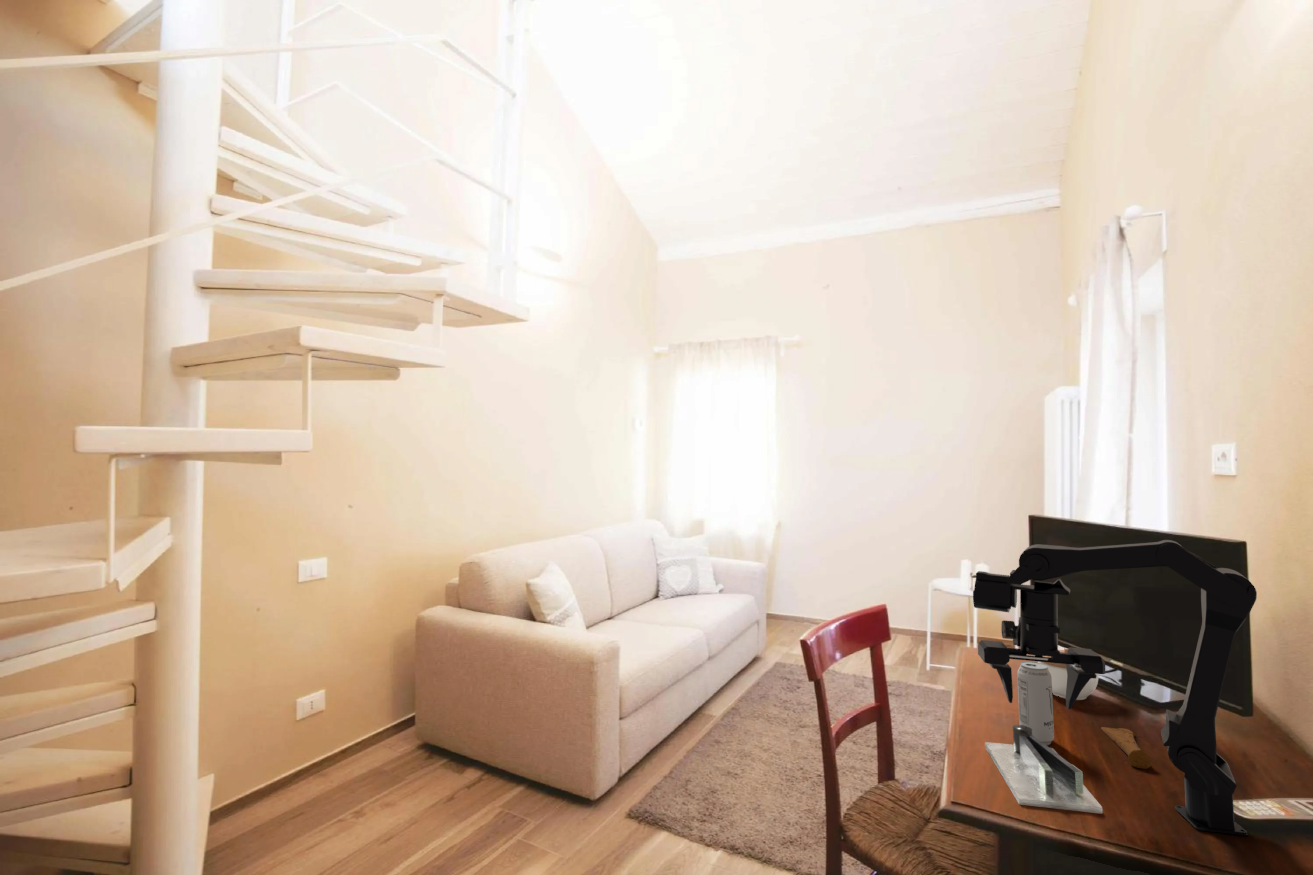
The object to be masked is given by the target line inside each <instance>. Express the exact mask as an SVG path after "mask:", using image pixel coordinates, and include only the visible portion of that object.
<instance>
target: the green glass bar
mask: <svg viewBox="0 0 1313 875" xmlns="http://www.w3.org/2000/svg"><path fill="white" fill-rule="evenodd" d="M1028 740H1029V741H1030V743H1031V744H1032V745H1033V747H1034V748H1035V749H1036V751H1037V752H1038V753H1039V754H1040V756H1041V757H1042V758H1043V760H1044V761H1045V762H1046V763H1047V764H1048V766H1049V767H1050V768H1051V769H1052V771H1053V775H1054V776H1055V777H1057V778H1058V779H1059V780H1060V781H1061V782H1063V783H1064V784H1065V785H1066V786H1068V787H1069V788H1070V789H1071V790H1072V791H1074V792H1075V793H1076V794H1084V793H1083V785H1084V774H1083V771H1082V770H1081V769H1079V768H1078V767H1077V766H1075V764H1073V763H1070V762H1069V761H1068V760H1066V758H1063V757H1062V756H1061V755H1060V754H1059V753H1058V752H1057V751H1056V752H1054V751H1053V750H1052V749H1050V748H1051V747H1049V745H1045V744H1044V743H1043V742H1041V741H1040V740H1039V739H1037V738H1036V737H1035V736H1033V735H1028Z"/></svg>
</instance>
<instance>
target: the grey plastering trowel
mask: <svg viewBox="0 0 1313 875" xmlns="http://www.w3.org/2000/svg"><path fill="white" fill-rule="evenodd" d="M1028 735H1032V729H1031V728H1030V727H1027V726H1024V725H1019V724H1014V725H1013V726H1012V738H1013V744H1011V743H1002V742H1001V743H1000V742H988V741H985V742H984V748H985V749H986V751H987V753H988V754H989V756H990V758H991V760H992V761H993V763H994V764H995V767H996V768H997V769H998V771H999V773H1000V775H1001V776H1002V778H1003V780H1004V782H1005V783H1006V785H1007V787H1008V789H1010V790H1009V791H1010V792H1011V793H1012V795H1013V796H1014V798H1015V799H1016V801H1017V803H1018V805H1022V806H1030V807H1039V808H1047V809H1056V810H1057V809H1058V810H1065V811H1074V812H1084V813H1092V814H1093V813H1094V814H1103V806H1102V805H1101V804H1100V803H1099V802H1098V800H1097V799H1096V798H1095V797H1094V795H1093V794H1092V793H1091V792H1090V791H1089V790H1088V788H1087V787H1086V785H1084V784H1083V793H1084V794H1076V793H1075V792H1074V791H1072V790H1071V789H1070V788H1069V787H1068V786H1066V785H1065V784H1064V783H1063V782H1061V781H1060V780H1059V779H1058V778H1057V777H1055V776H1054V775H1053V771H1052V769H1051V768H1050V767H1049V766H1048V764H1047V763H1046V762H1045V761H1044V760H1043V758H1042V757H1041V756H1040V754H1039V753H1038V752H1037V751H1036V749H1035V748H1034V747H1033V745H1032V744H1031V743H1030V741H1029V740H1028ZM1049 748H1050V749H1052V750H1053V751H1054V752H1056V753H1057V751H1056V750H1055V749H1054V748H1053V747H1049Z"/></svg>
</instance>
